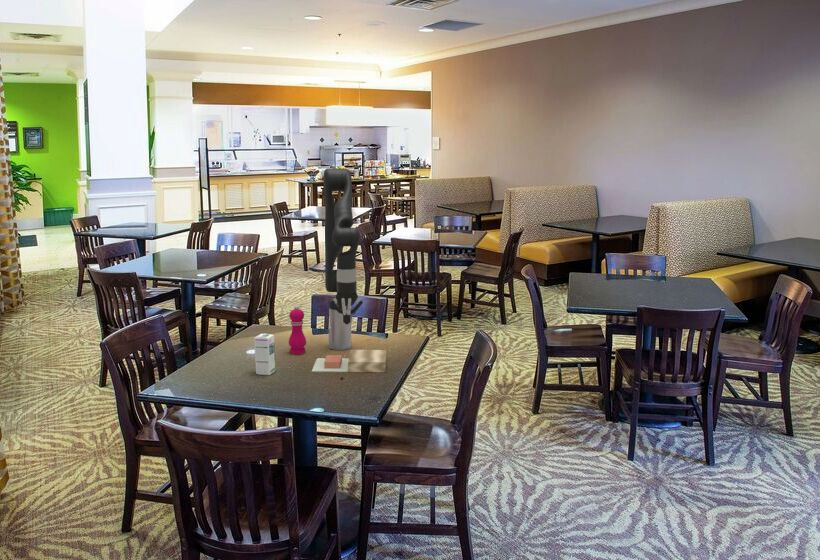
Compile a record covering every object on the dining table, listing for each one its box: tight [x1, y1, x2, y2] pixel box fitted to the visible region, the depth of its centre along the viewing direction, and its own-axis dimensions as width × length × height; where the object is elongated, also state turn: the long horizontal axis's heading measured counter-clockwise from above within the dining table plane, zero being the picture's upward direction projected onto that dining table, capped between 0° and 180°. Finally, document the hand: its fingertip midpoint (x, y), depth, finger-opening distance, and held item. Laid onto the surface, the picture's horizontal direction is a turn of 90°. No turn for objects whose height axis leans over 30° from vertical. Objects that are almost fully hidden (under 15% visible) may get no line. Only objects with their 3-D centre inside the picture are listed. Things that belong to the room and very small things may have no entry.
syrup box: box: [253, 333, 277, 376], centre depth 259 cm, size 6×6×14 cm
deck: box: [347, 349, 387, 373], centre depth 269 cm, size 14×16×4 cm
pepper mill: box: [288, 305, 307, 355], centre depth 284 cm, size 7×7×20 cm
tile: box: [324, 354, 343, 368], centre depth 268 cm, size 6×9×2 cm, turn 0°
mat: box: [311, 357, 349, 373], centre depth 269 cm, size 14×16×1 cm
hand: (347, 323), depth 266 cm, fingers closed
